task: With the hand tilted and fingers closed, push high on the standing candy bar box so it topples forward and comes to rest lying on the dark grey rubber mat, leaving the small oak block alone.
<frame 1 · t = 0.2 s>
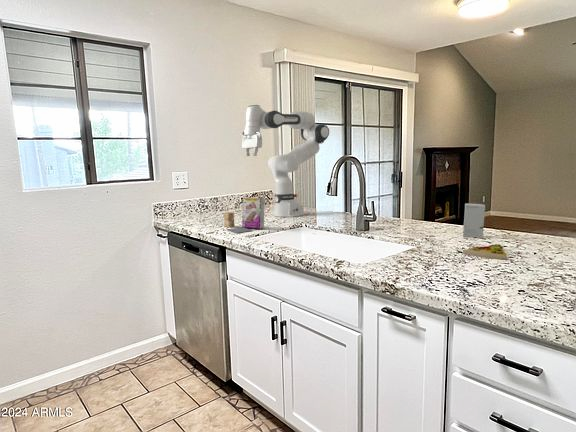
hand: (251, 156, 231), 39 cm above the worktop, tool pointing down, fingers open, 8 cm apart
oak block: (229, 226, 215), on the worktop
rubber mat: (239, 230, 203), on the worktop
skincare box: (473, 237, 175), on the worktop
candy bar box: (253, 228, 208), on the worktop, touching rubber mat
pizza slice: (491, 254, 148), on the worktop
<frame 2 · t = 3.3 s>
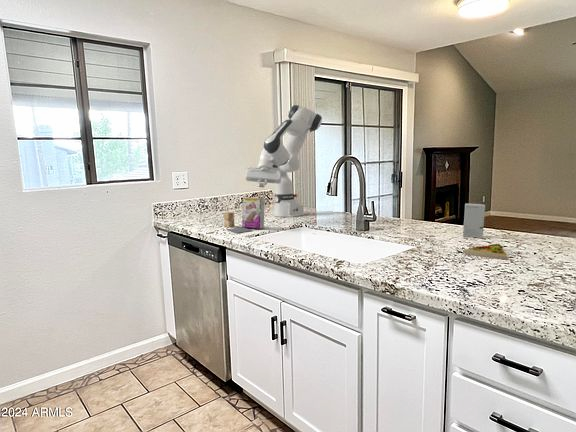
hand: (261, 186, 214), 22 cm above the worktop, tool tilted 45°, fingers closed
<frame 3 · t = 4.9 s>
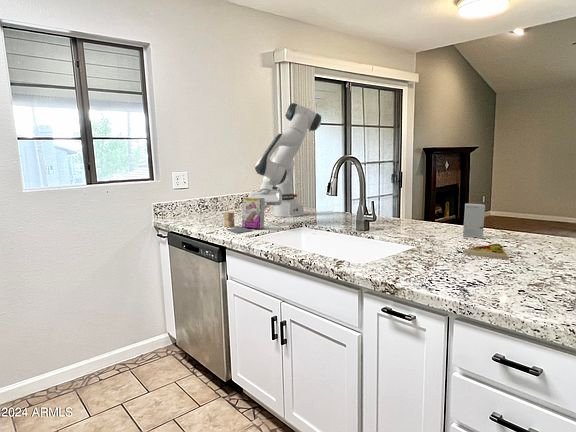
hand: (261, 210, 214), 9 cm above the worktop, tool tilted 45°, fingers closed
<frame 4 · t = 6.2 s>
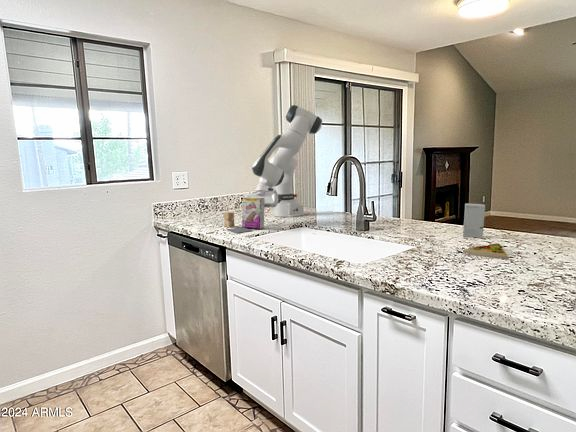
hand: (256, 212, 210), 8 cm above the worktop, tool tilted 45°, fingers closed
candy bar box: (253, 228, 208), on the worktop, touching gripper, rubber mat
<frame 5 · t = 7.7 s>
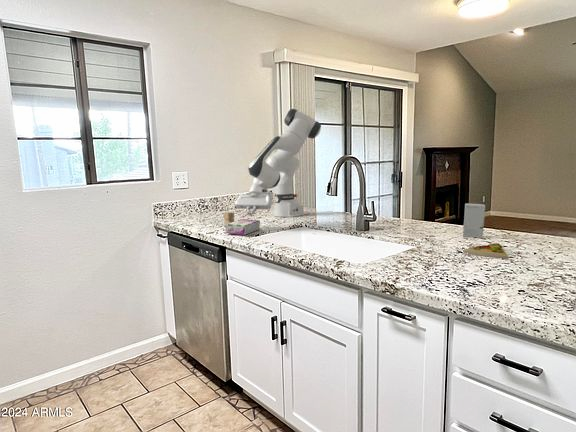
hand: (249, 214, 203), 8 cm above the worktop, tool tilted 45°, fingers closed
candy bar box: (251, 224, 206), point 3 cm above the worktop, touching rubber mat
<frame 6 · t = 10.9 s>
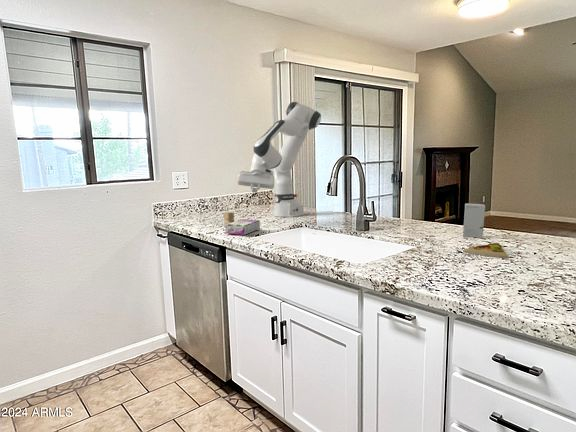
hand: (254, 191, 208), 20 cm above the worktop, tool tilted 45°, fingers closed
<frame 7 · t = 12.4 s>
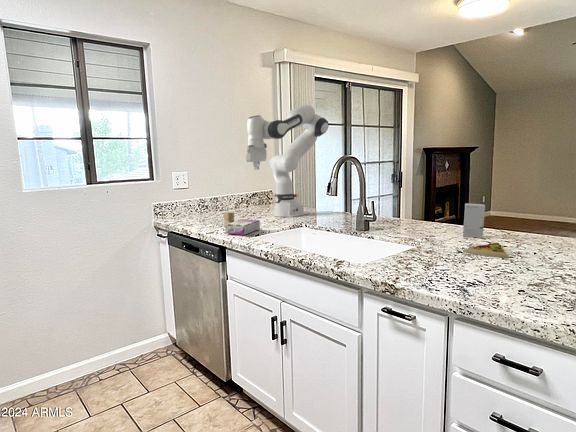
hand: (256, 169, 219), 31 cm above the worktop, tool pointing down, fingers closed
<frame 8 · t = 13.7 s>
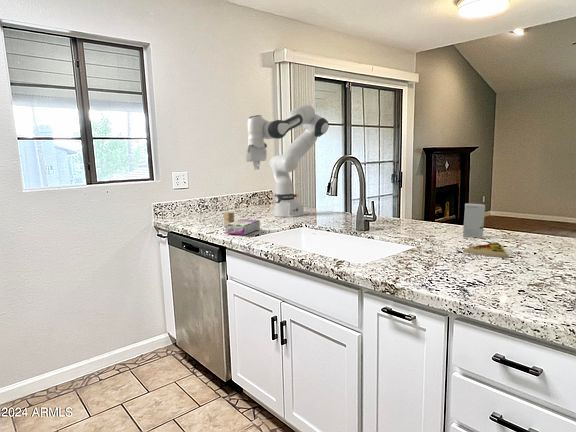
hand: (256, 169, 219), 31 cm above the worktop, tool pointing down, fingers closed
at the end: candy bar box tilted 89°; candy bar box 6.8 cm from the rubber mat (horizontally); oak block moved 0.0 cm from its start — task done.
